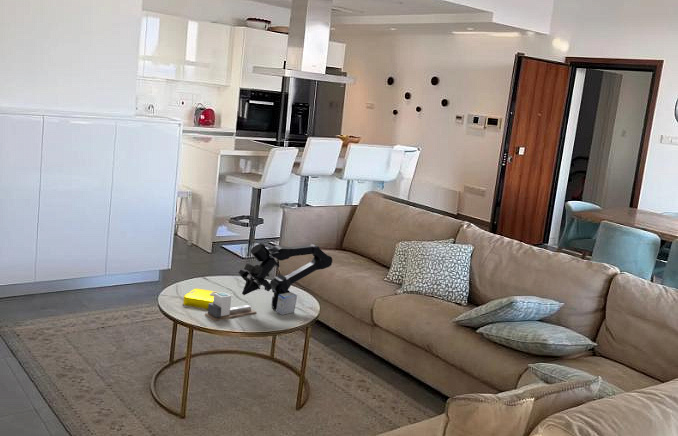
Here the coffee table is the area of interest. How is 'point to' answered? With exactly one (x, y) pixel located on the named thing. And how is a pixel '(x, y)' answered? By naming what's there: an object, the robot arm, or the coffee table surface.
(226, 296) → the block
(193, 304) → the element tile
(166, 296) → the coffee table surface
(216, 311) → the rail
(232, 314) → the mounting board
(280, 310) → the medicine box
